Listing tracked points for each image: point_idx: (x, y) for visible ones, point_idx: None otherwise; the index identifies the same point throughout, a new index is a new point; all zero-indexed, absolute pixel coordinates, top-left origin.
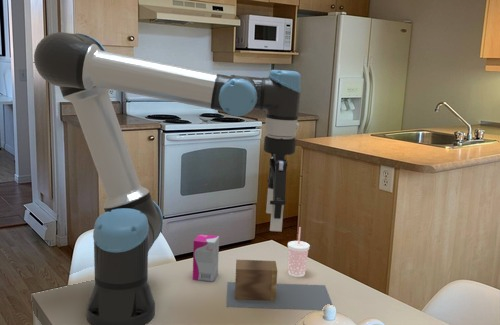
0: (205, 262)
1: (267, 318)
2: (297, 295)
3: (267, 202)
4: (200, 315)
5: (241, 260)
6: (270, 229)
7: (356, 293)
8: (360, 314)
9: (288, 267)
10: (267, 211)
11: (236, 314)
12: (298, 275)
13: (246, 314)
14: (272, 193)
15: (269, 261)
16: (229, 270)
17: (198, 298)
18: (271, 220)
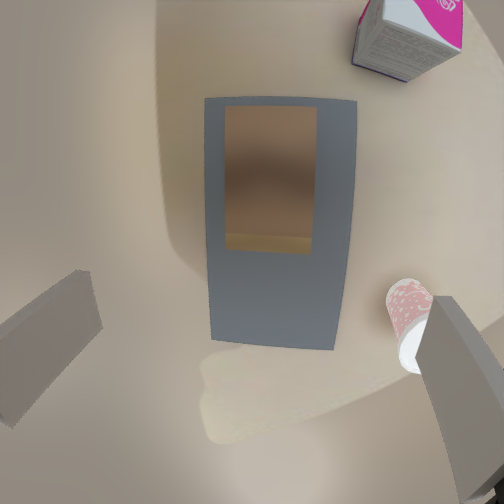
0: (367, 23)
1: (171, 195)
2: (278, 281)
3: (464, 348)
4: (175, 48)
5: (309, 125)
6: (71, 275)
7: (299, 393)
8: (212, 374)
9: (416, 286)
10: (436, 310)
11: (182, 124)
12: (387, 303)
13: (184, 147)
14: (479, 440)
15: (305, 232)
16: (439, 119)
17: (259, 31)
18: (38, 301)
